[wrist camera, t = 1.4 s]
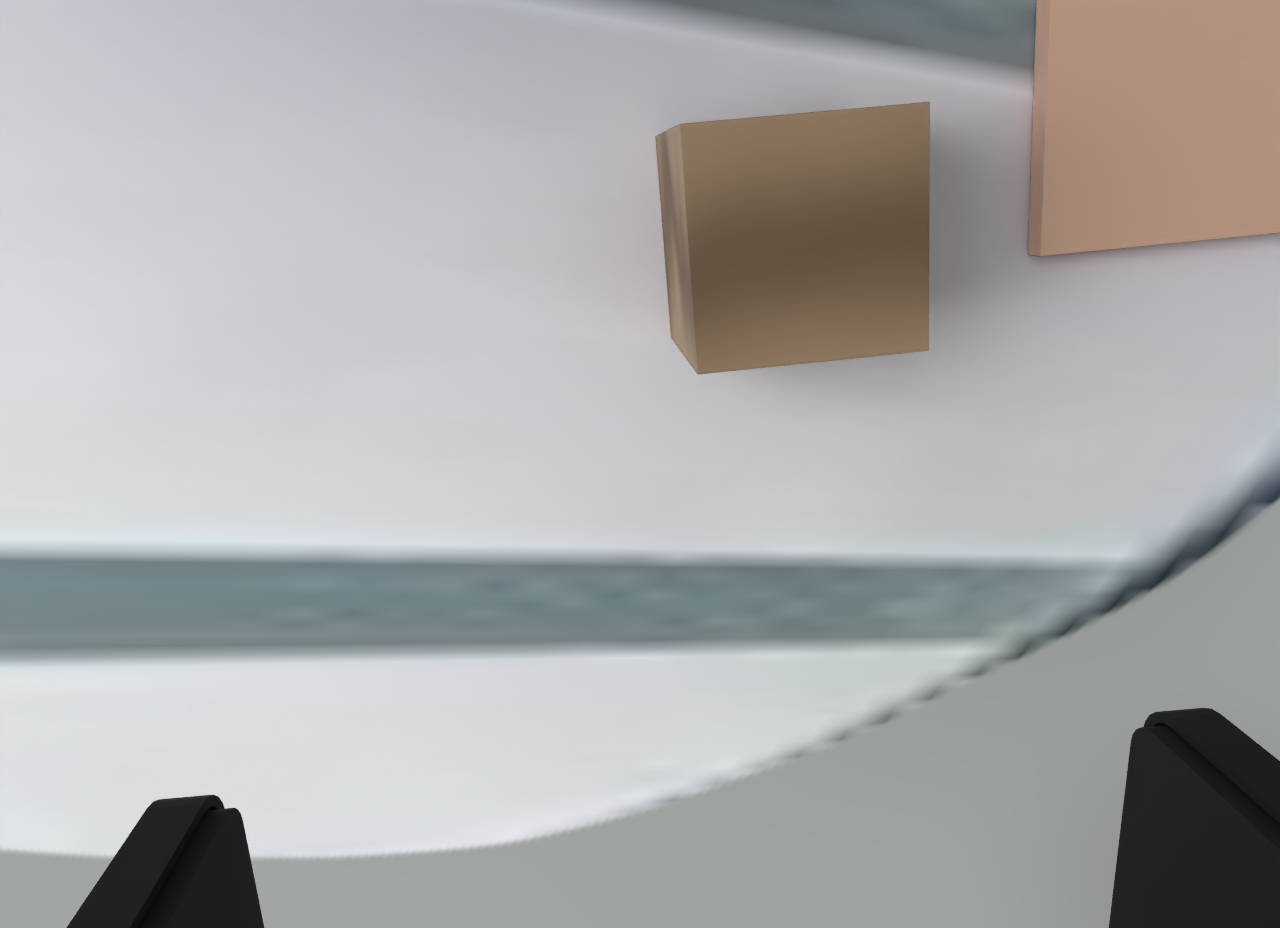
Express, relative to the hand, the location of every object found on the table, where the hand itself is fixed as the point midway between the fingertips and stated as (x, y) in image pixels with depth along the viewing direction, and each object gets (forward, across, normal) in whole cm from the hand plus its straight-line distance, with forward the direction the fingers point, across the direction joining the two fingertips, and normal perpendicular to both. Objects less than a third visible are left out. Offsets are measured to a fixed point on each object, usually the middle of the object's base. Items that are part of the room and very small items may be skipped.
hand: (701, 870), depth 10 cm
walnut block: (+21, -5, -5) cm, 22 cm away
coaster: (+21, -19, -10) cm, 30 cm away
